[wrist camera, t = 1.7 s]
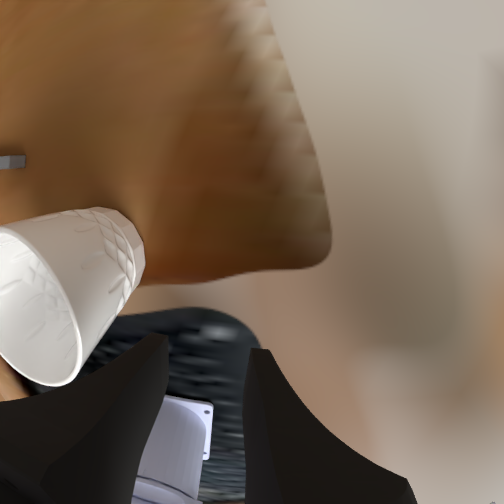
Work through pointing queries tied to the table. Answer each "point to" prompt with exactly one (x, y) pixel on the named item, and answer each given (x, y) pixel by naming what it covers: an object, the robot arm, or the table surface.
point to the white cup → (64, 288)
